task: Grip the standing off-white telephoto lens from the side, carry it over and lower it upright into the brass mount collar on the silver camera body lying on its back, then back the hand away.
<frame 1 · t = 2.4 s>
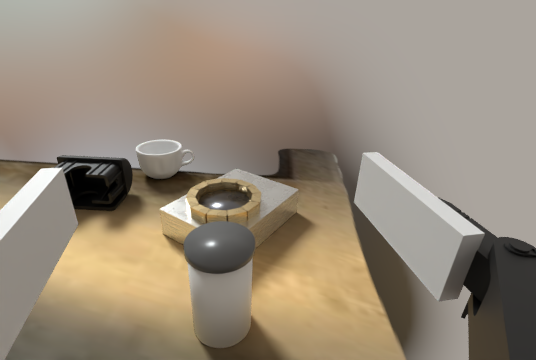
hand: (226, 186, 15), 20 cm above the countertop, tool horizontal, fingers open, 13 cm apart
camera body: (234, 222, 47), on the countertop
teacup: (168, 174, 61), on the countertop
telephoto lens: (222, 322, 32), on the countertop
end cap: (96, 199, 52), on the countertop
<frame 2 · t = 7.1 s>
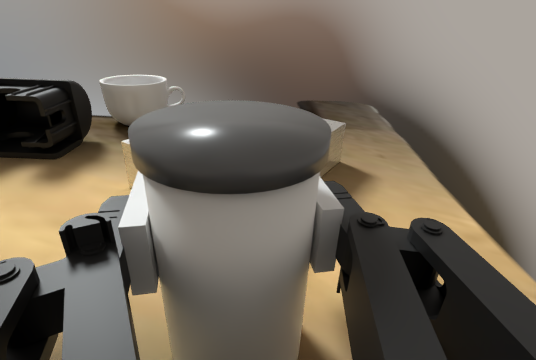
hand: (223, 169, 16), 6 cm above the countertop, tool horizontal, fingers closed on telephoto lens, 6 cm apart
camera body: (245, 172, 30), on the countertop
teacup: (149, 122, 43), on the countertop
telephoto lens: (236, 339, 14), on the countertop, touching gripper
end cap: (36, 147, 34), on the countertop
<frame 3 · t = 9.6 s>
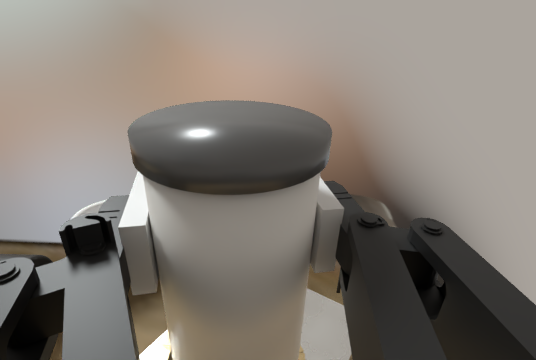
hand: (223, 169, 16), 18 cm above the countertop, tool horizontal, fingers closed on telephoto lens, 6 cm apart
telephoto lens: (237, 340, 14), point 12 cm above the countertop, touching gripper
when the fingers open (11 cm above the countertop, at t = 11.9 s): telephoto lens stays where it is, resting on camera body.
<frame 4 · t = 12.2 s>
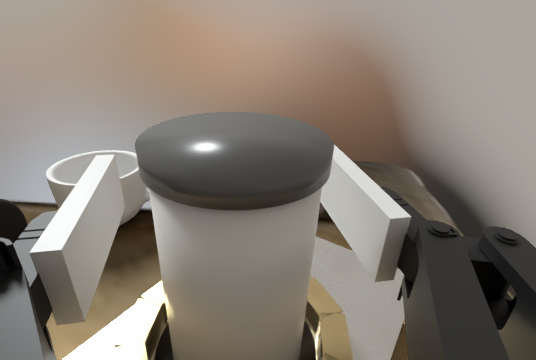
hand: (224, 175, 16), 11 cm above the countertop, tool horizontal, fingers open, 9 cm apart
teacup: (121, 216, 32), on the countertop
telephoto lens: (238, 346, 15), point 4 cm above the countertop, touching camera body
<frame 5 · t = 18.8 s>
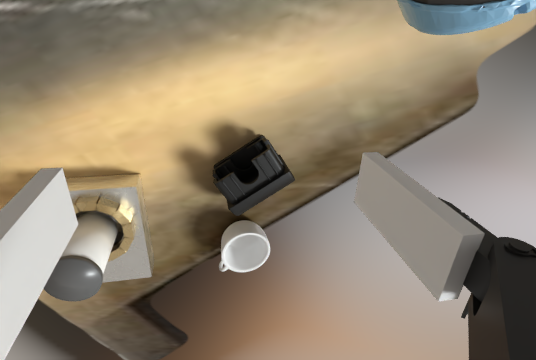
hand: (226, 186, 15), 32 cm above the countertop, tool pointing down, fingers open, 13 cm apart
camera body: (106, 223, 49), on the countertop
teacup: (237, 236, 55), on the countertop
telephoto lens: (95, 229, 44), point 4 cm above the countertop, touching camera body
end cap: (249, 166, 50), on the countertop
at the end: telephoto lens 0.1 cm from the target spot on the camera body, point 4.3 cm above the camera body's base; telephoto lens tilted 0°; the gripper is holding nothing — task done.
